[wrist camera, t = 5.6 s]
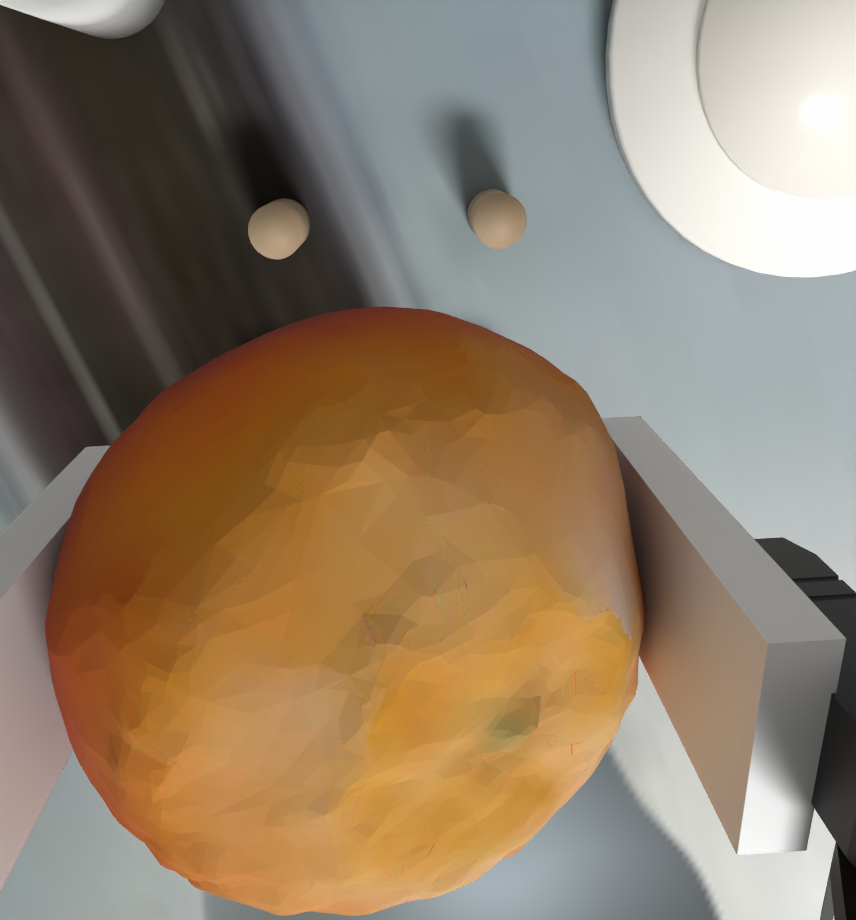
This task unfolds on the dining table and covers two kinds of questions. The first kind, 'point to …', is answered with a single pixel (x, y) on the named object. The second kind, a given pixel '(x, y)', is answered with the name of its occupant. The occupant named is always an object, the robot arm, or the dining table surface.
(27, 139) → the dining table surface
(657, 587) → the robot arm
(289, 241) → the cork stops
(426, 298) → the dining table surface
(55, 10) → the salt shaker
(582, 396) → the fruit
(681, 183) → the saucer
